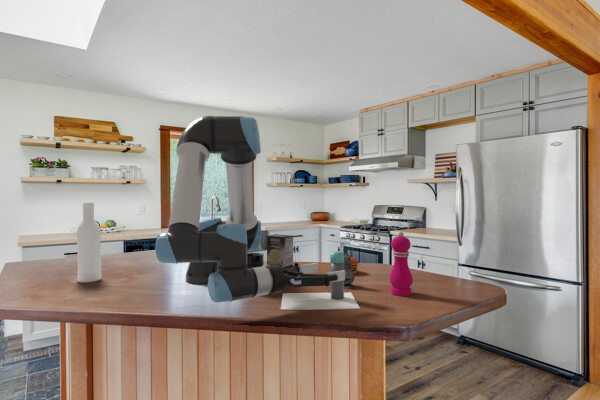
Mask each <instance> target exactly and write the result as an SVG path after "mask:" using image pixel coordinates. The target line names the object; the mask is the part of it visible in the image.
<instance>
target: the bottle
mask: <svg viewBox="0 0 600 400" xmlns="http://www.w3.org/2000/svg"><path fill="white" fill-rule="evenodd" d="M76 237H77V238H76V239H77V240H76V246H77V253H76V254H77V282H78V283H93V282H98V281H101V280H102V264H101V263H102V251H101V246H102V245H101V244H102V243H101V227H100V224H99V223H98V222H97V221H95V202H94V201H83V202H82V221H81V222H80V223H79V224H78V226H77V230H76Z"/></svg>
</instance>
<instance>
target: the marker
mask: <svg viewBox="0 0 600 400" xmlns="http://www.w3.org/2000/svg"><path fill="white" fill-rule="evenodd" d="M344 255H345V252H344V251H341V250H340V251H338V250H334V251H330V252H329V257H330V258H329V262H330V272H335V271H342V270H344ZM330 293H331V299H334V300H342V299H344V293H345V288H344V280H343V281H337V282H331V283H330Z"/></svg>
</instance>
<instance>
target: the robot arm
mask: <svg viewBox="0 0 600 400" xmlns="http://www.w3.org/2000/svg"><path fill="white" fill-rule="evenodd" d="M260 140H261V139H260V132H259V126H258V122H257V120H256V118H255V117H252V116H243V115H241V116H237V115H236V116H234V115H233V116H231V115H229V116H226V115H225V116H222V115H220V116H219V115H218V116H217V115H215V116H214V115H205V116H202V117H201V116H200V117H199V118H196V119H195V120H194V121H192V122H191V123H190V124H189V125H188V126H187V127H186V128H185V129H183V132H182V133H181V135H180V137H179V139H178V141H177V146H176V152H175V153H176V155H177V157H178V162H177V168H176V173H175V174H176V175H175V182H174V188H173V193H172V201H171V209H170V215H169V216H170V217H169V221H168V222H169V223H168V231H167V232H164V233H163V232H161V233H159V234H158V236H157V237H156V240H155V247H154V248H155V249H154V250H155V256H156V259H157V261H158V262H160V263H162V264H163V263H164V264H176V265H177V264H185V263H188V267H187V270H186V273H185V282H186V283H189V284H194V285H195V284H196V285H197V284H198V285H199V284H201V285H202V284H203V285H205V284H207V290H208V291H207V292H208V295H209V297H210V299H211V301H213V302H214V303H225V302H229V303H230V302H233V301H240V300H244V299H250V298H256V299H259V298H260V296H261V297H262V296H267V295H273V294H275V295H276V294H280V293H282V292H283V291H284V290H285V287H286V286H287V287H288V286H289V287H292V286H293V288H301V287H325V288H327V287H328V286H329V287H331V282H337V281H343V280H345V271H344V270H342V271H335V272H331V271H329V272H325V273H318V272H319V269H318V268H319V263H318V262H313V263H307V264H306V263H304V264H299V262H293V265H292V264H291V265H288V266H285V267H280V266H279V265H273V266H267V265H266V266H264V265H263V267H256V268H249V269H247V253H248V252H251V251H256V250H258V249H259V246H260V242H261V234H262V221H261V220H259V219H258V217H257V216H256V214H254V198H253V197H254V196H253V191H254V190H253V189H254V188H253V162H254V161H256V159H257V155H259V154H261V151H262V150H261V147H262V146H261V141H260ZM211 154H220V159H221V161H222V162H224V163H225V167H226V168H225V169H226V180H227V184H226V185H227V194H228V195H227V196H228V208H229V209H228V210H229V211H228V213H229V215H228V216H227V217H226V220H224V221H223V220H222V217H211V218H206V219H205V218H203V219H201V212H202V200H203V189H204V179H205V167H206V162H207V161H208V159H209V158H210V155H211Z"/></svg>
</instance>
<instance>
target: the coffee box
mask: <svg viewBox="0 0 600 400" xmlns="http://www.w3.org/2000/svg"><path fill="white" fill-rule="evenodd" d="M291 264H292V265H293V266H294V235H289V234H277V233H276V234H275V233H274V234H269V235H266V266H273V265H279V266H280V267H285V266H288V265H291Z"/></svg>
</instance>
